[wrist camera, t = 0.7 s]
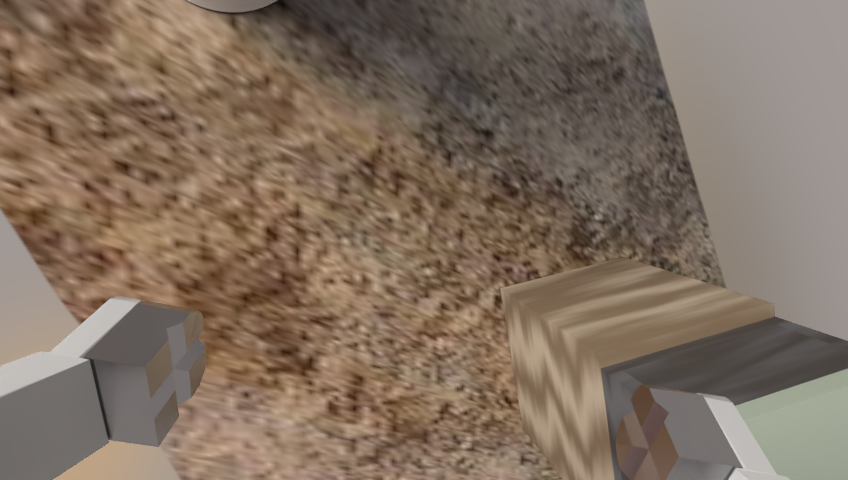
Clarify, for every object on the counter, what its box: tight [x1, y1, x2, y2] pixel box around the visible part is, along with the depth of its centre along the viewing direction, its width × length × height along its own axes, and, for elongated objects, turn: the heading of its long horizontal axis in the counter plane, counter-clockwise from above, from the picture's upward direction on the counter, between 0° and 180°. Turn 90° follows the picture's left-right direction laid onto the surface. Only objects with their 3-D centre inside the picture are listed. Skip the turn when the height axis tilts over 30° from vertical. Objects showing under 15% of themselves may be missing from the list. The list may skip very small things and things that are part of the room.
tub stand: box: [500, 257, 848, 480], centre depth 41 cm, size 16×14×26 cm
